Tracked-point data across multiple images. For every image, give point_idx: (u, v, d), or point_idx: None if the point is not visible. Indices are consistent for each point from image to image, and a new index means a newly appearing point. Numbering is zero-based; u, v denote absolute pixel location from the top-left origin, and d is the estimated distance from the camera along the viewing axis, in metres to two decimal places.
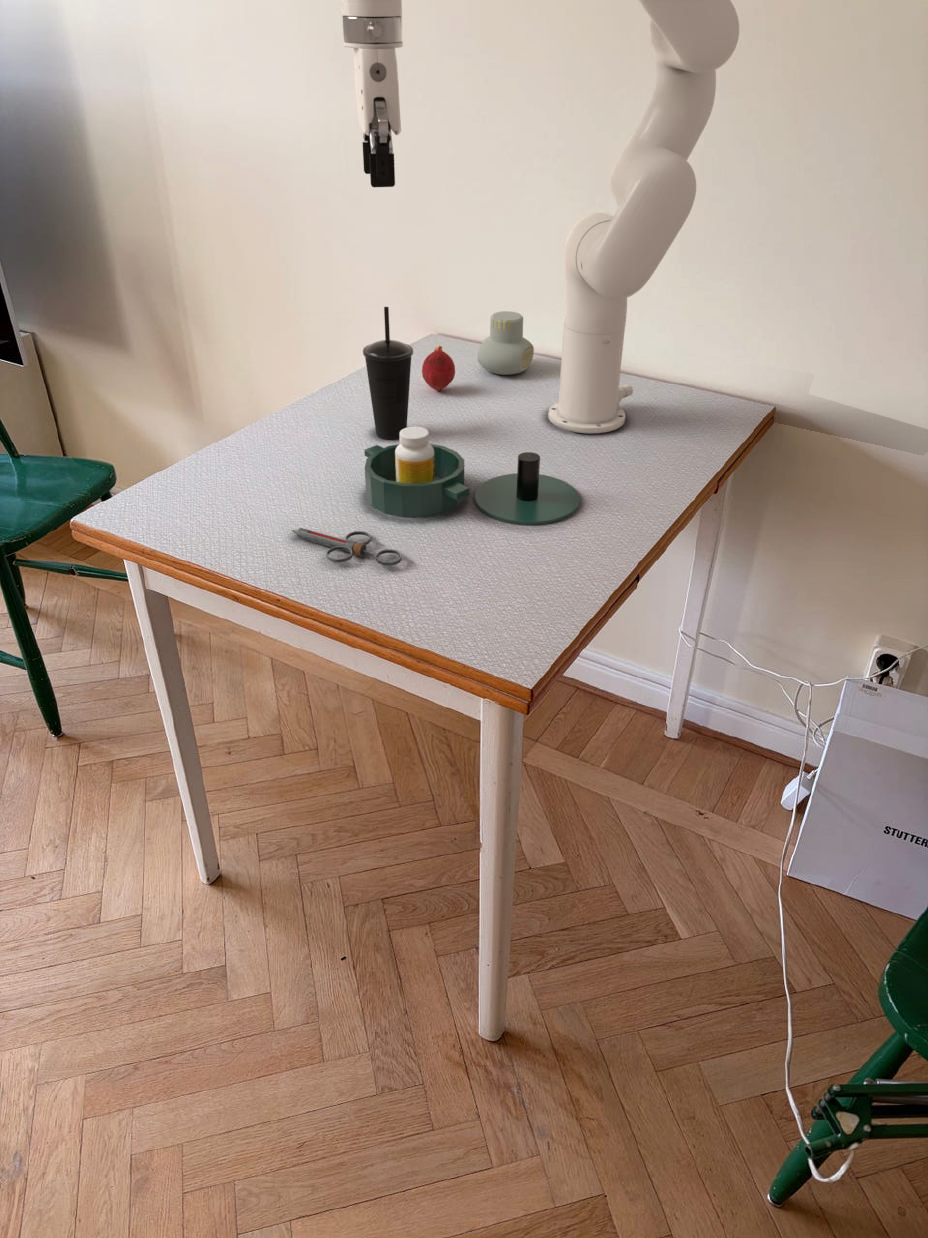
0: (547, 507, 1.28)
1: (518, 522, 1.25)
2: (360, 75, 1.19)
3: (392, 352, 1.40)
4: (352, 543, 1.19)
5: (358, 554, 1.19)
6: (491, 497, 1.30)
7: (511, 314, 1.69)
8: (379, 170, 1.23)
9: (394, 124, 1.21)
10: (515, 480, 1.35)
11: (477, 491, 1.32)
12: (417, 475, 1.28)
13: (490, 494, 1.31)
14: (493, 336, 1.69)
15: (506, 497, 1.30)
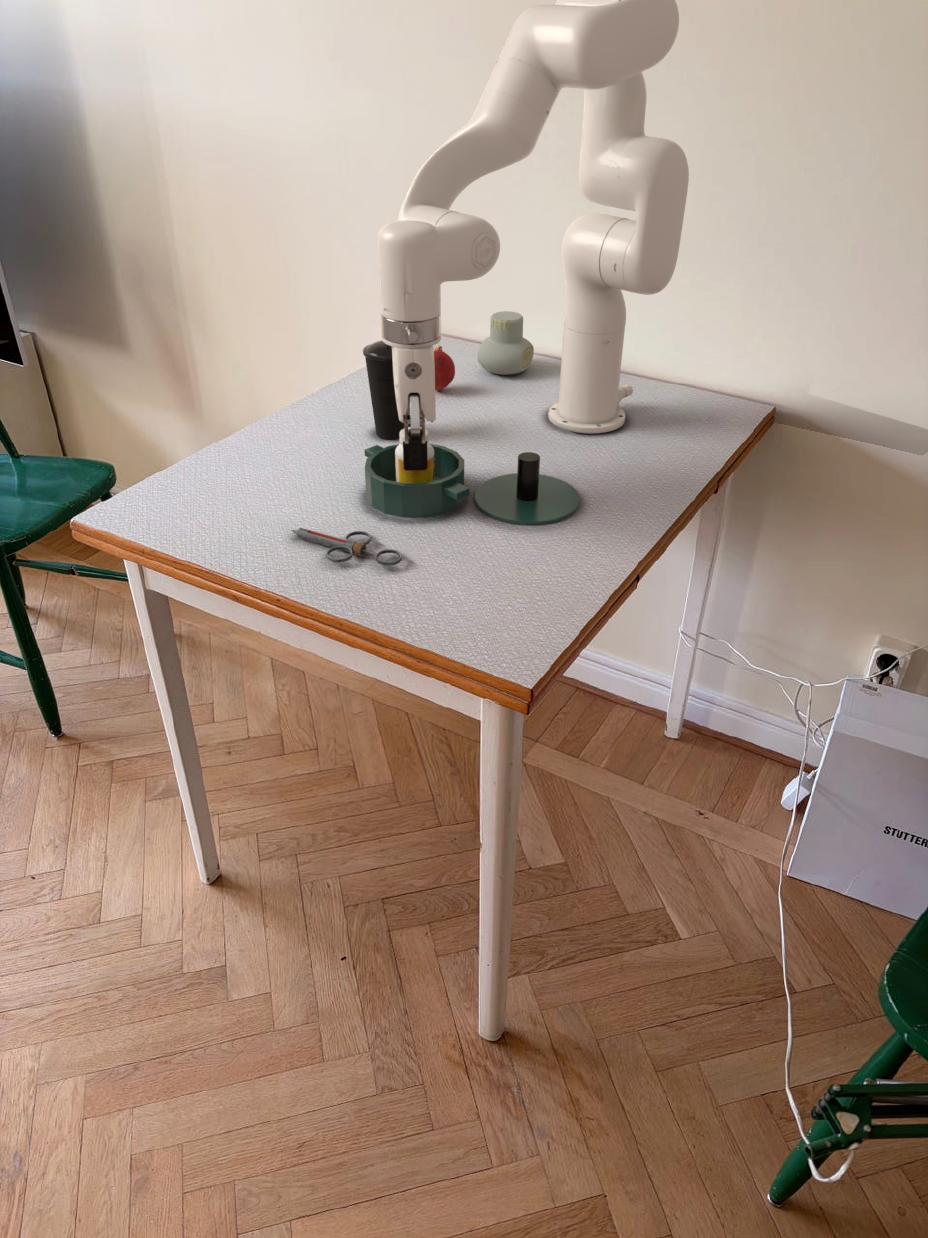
0: (547, 507, 1.28)
1: (518, 522, 1.25)
2: (396, 371, 1.18)
3: None
4: (352, 543, 1.19)
5: (358, 554, 1.19)
6: (491, 497, 1.30)
7: (511, 314, 1.69)
8: (412, 458, 1.25)
9: (428, 415, 1.20)
10: (515, 480, 1.35)
11: (477, 491, 1.32)
12: (417, 475, 1.28)
13: (490, 494, 1.31)
14: (493, 336, 1.69)
15: (506, 497, 1.30)
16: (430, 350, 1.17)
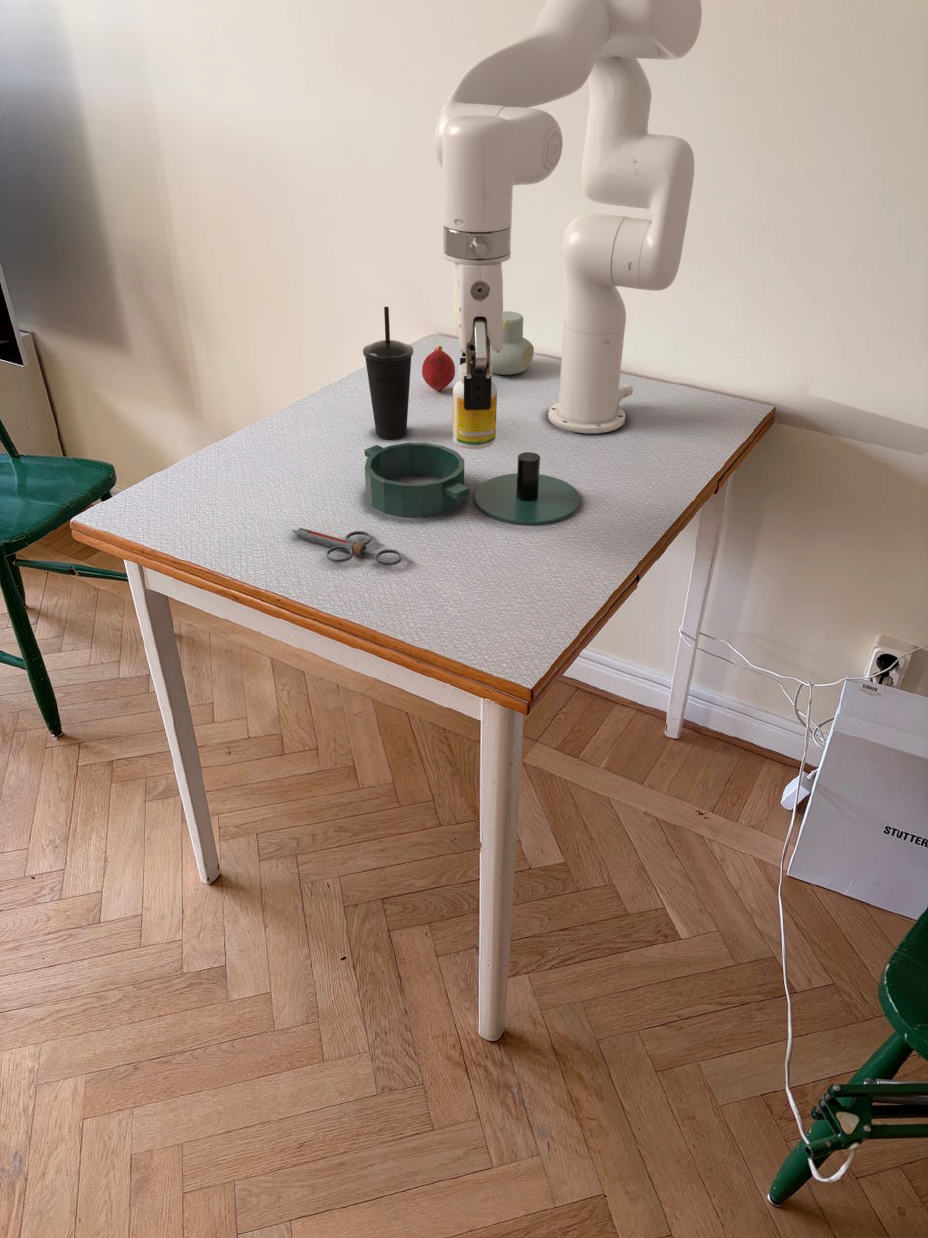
0: (547, 507, 1.28)
1: (518, 522, 1.25)
2: (459, 292, 1.03)
3: (392, 352, 1.40)
4: (352, 543, 1.19)
5: (358, 554, 1.19)
6: (491, 497, 1.30)
7: (511, 314, 1.69)
8: (474, 395, 1.10)
9: (495, 344, 1.06)
10: (515, 480, 1.35)
11: (477, 491, 1.32)
12: (478, 416, 1.13)
13: (490, 494, 1.31)
14: None
15: (506, 497, 1.30)
16: (500, 267, 1.02)
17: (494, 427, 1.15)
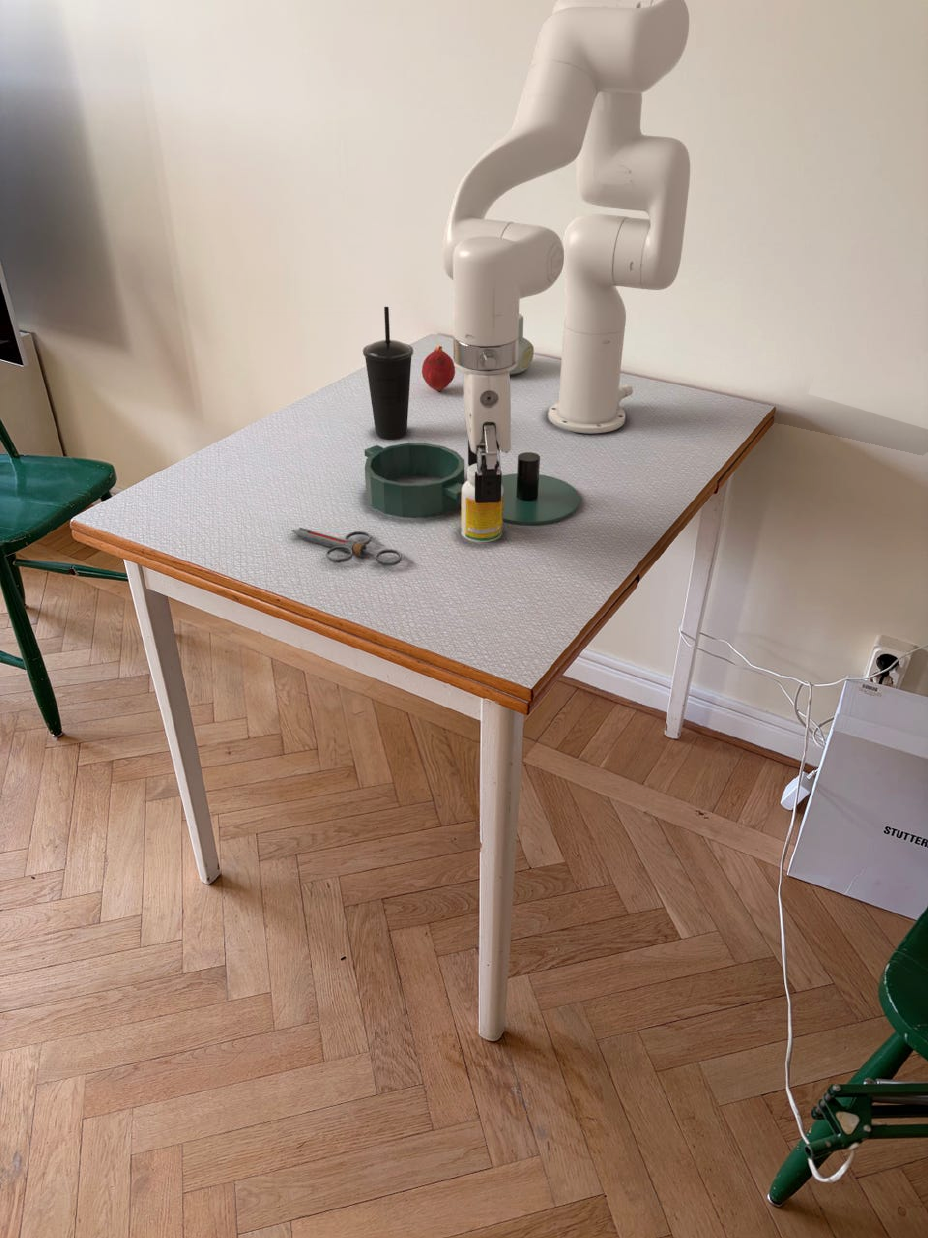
0: (547, 507, 1.28)
1: (518, 522, 1.25)
2: (469, 399, 1.09)
3: (392, 352, 1.40)
4: (352, 543, 1.19)
5: (358, 554, 1.19)
6: None
7: None
8: (485, 490, 1.14)
9: (503, 446, 1.11)
10: (515, 480, 1.35)
11: None
12: (485, 515, 1.19)
13: None
14: None
15: (506, 497, 1.30)
16: (507, 376, 1.08)
17: (501, 523, 1.22)
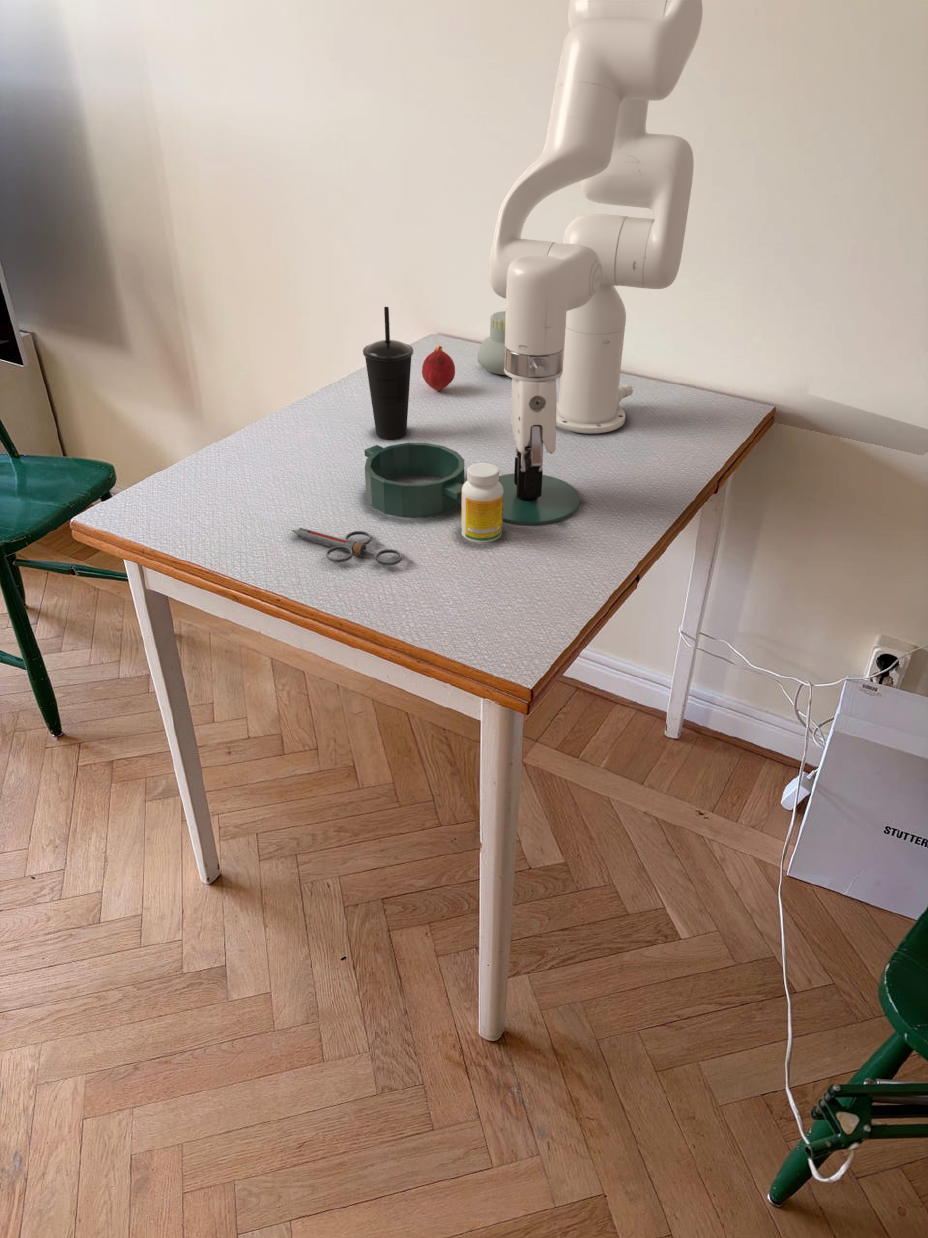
0: (547, 507, 1.28)
1: (518, 522, 1.25)
2: (519, 404, 1.19)
3: (392, 352, 1.40)
4: (352, 543, 1.19)
5: (358, 554, 1.19)
6: None
7: None
8: (527, 486, 1.26)
9: (549, 447, 1.21)
10: None
11: None
12: (485, 515, 1.19)
13: None
14: (493, 336, 1.69)
15: (506, 497, 1.30)
16: (554, 383, 1.17)
17: (501, 523, 1.22)
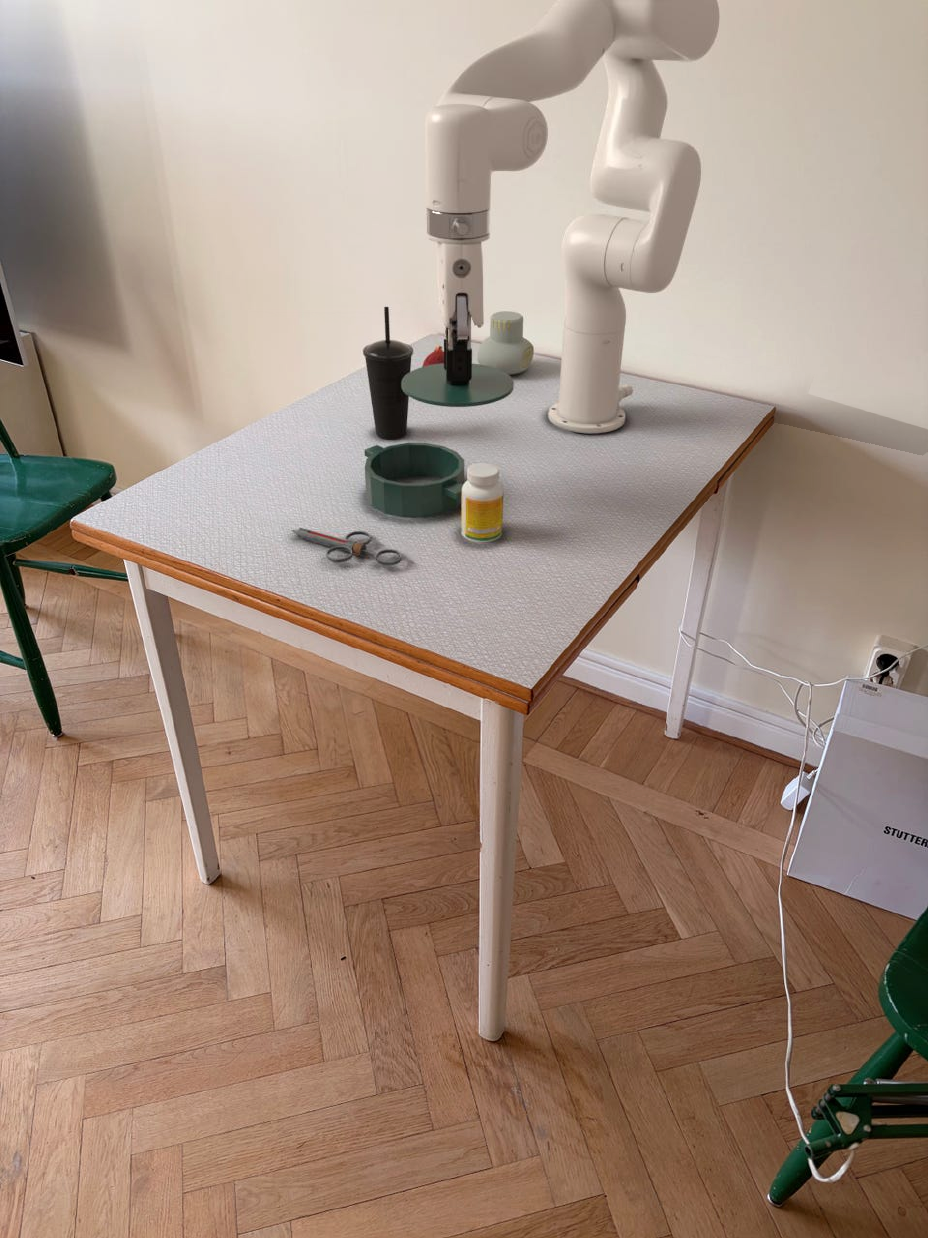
0: (478, 391, 1.19)
1: (446, 404, 1.16)
2: (442, 270, 1.10)
3: (392, 352, 1.40)
4: (352, 543, 1.19)
5: (358, 554, 1.19)
6: (419, 382, 1.22)
7: (511, 314, 1.69)
8: (456, 366, 1.18)
9: (476, 319, 1.13)
10: None
11: (405, 377, 1.23)
12: (485, 515, 1.19)
13: (418, 380, 1.22)
14: (493, 336, 1.69)
15: (435, 382, 1.22)
16: (480, 246, 1.09)
17: (501, 523, 1.22)
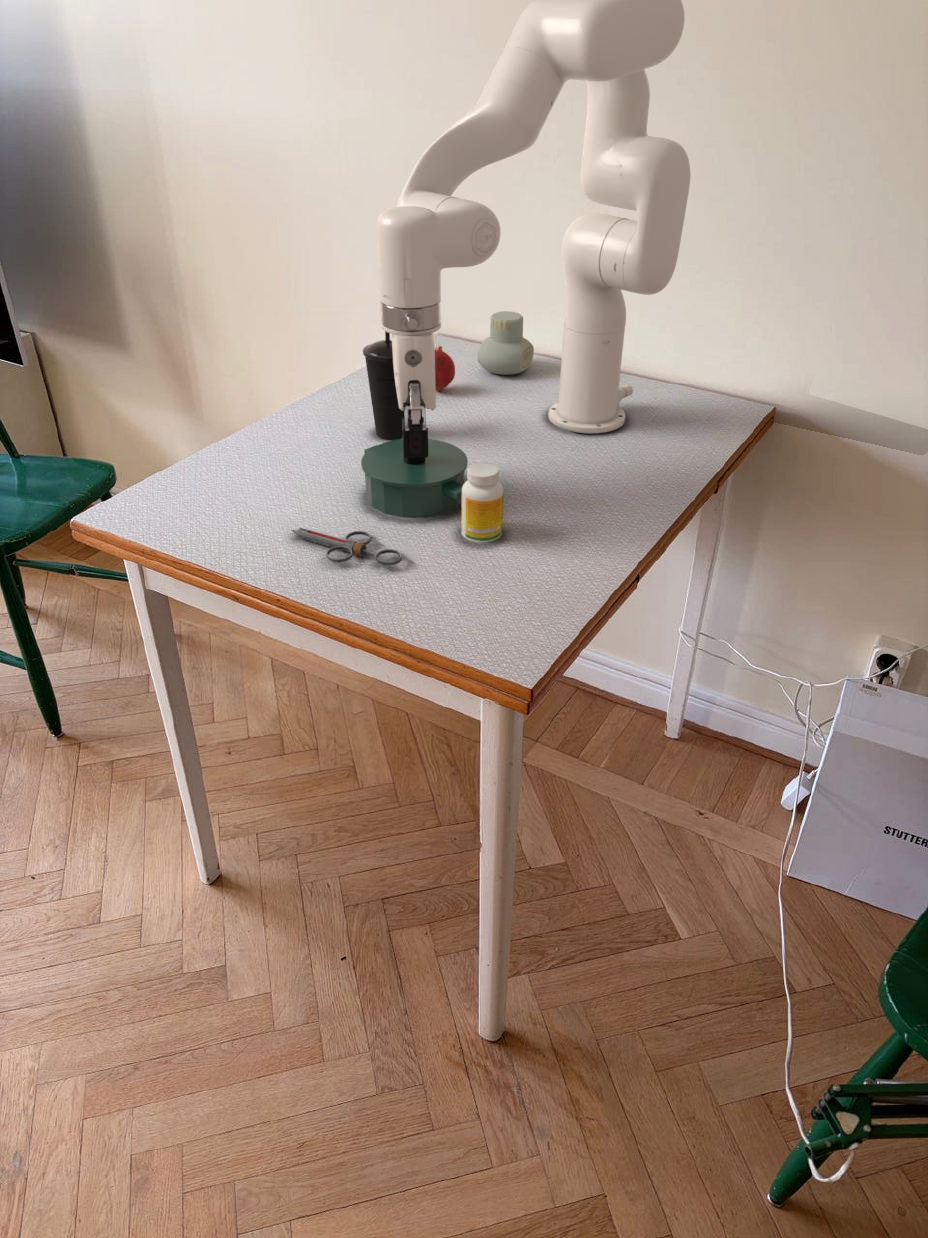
0: (433, 470, 1.26)
1: (400, 484, 1.23)
2: (395, 359, 1.17)
3: (392, 352, 1.40)
4: (352, 543, 1.19)
5: (358, 554, 1.19)
6: (378, 461, 1.29)
7: (511, 314, 1.69)
8: (412, 445, 1.22)
9: (428, 403, 1.19)
10: None
11: (365, 455, 1.30)
12: (485, 515, 1.19)
13: (377, 458, 1.29)
14: (493, 336, 1.69)
15: (393, 461, 1.29)
16: (430, 337, 1.16)
17: (501, 523, 1.22)
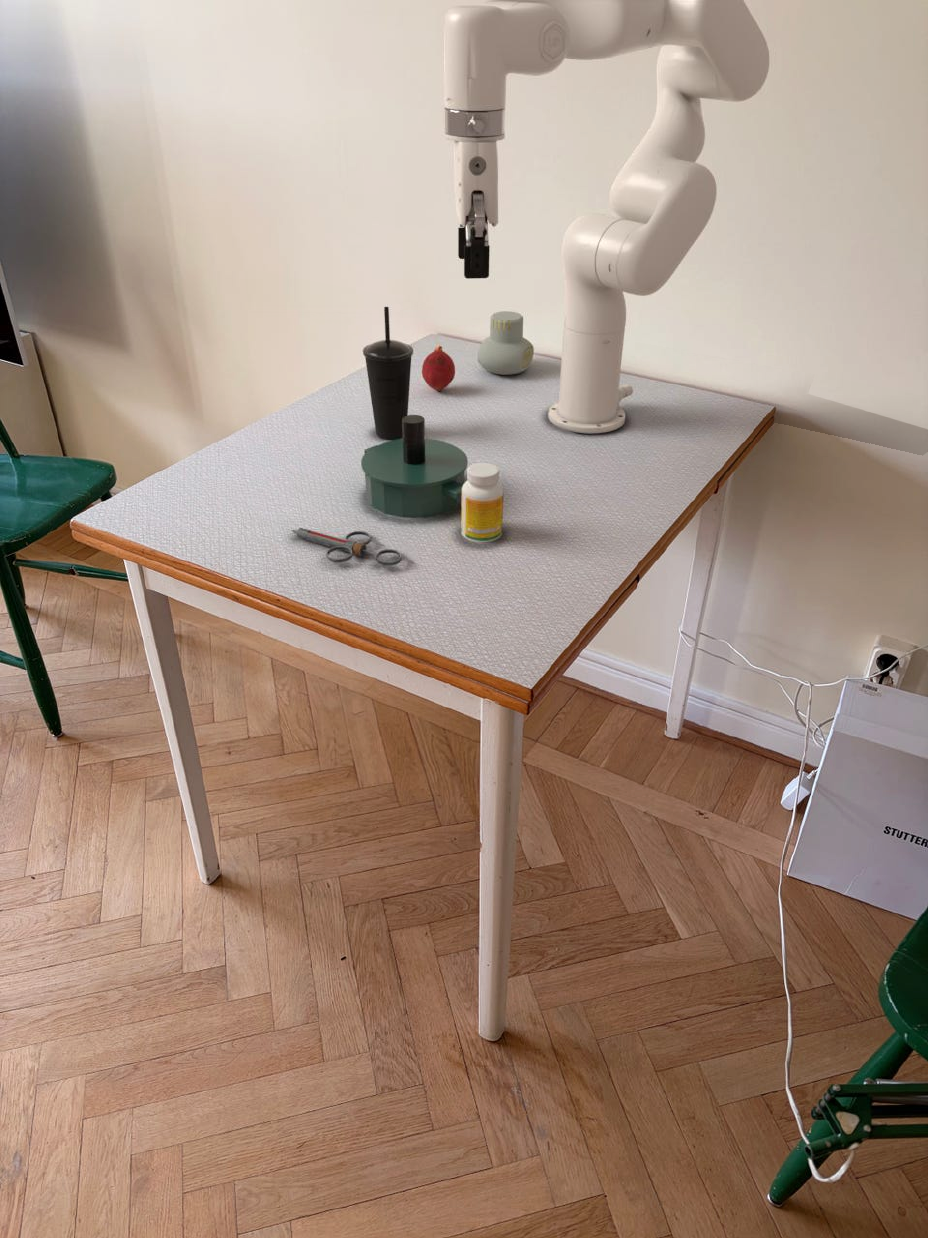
0: (433, 470, 1.26)
1: (400, 484, 1.23)
2: (459, 168, 1.16)
3: (392, 352, 1.40)
4: (352, 543, 1.19)
5: (358, 554, 1.19)
6: (378, 461, 1.29)
7: (511, 314, 1.69)
8: (474, 262, 1.20)
9: (491, 217, 1.18)
10: None
11: (365, 455, 1.30)
12: (485, 515, 1.19)
13: (377, 458, 1.29)
14: (493, 336, 1.69)
15: (393, 461, 1.29)
16: (495, 144, 1.14)
17: (501, 523, 1.22)
